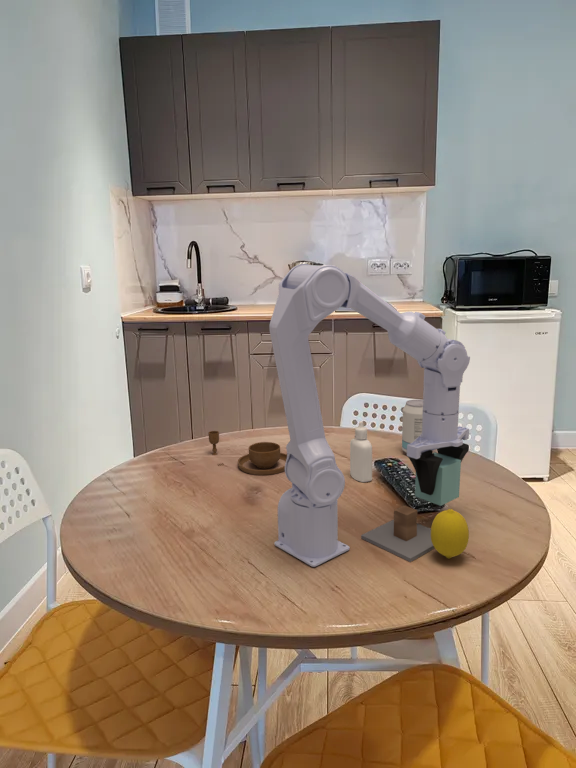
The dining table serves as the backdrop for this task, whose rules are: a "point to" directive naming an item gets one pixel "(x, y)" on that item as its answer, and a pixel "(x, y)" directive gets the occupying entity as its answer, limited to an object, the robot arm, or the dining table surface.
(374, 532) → the base
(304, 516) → the robot arm
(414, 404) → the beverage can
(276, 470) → the place setting
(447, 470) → the upright teal cuboid
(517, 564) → the dining table surface
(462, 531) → the lemon
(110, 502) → the dining table surface
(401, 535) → the wooden toy block
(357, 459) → the eye dropper bottle
